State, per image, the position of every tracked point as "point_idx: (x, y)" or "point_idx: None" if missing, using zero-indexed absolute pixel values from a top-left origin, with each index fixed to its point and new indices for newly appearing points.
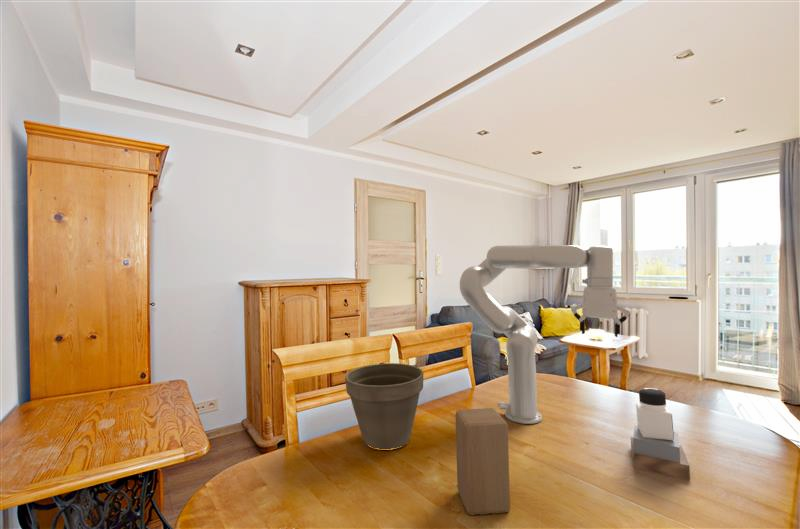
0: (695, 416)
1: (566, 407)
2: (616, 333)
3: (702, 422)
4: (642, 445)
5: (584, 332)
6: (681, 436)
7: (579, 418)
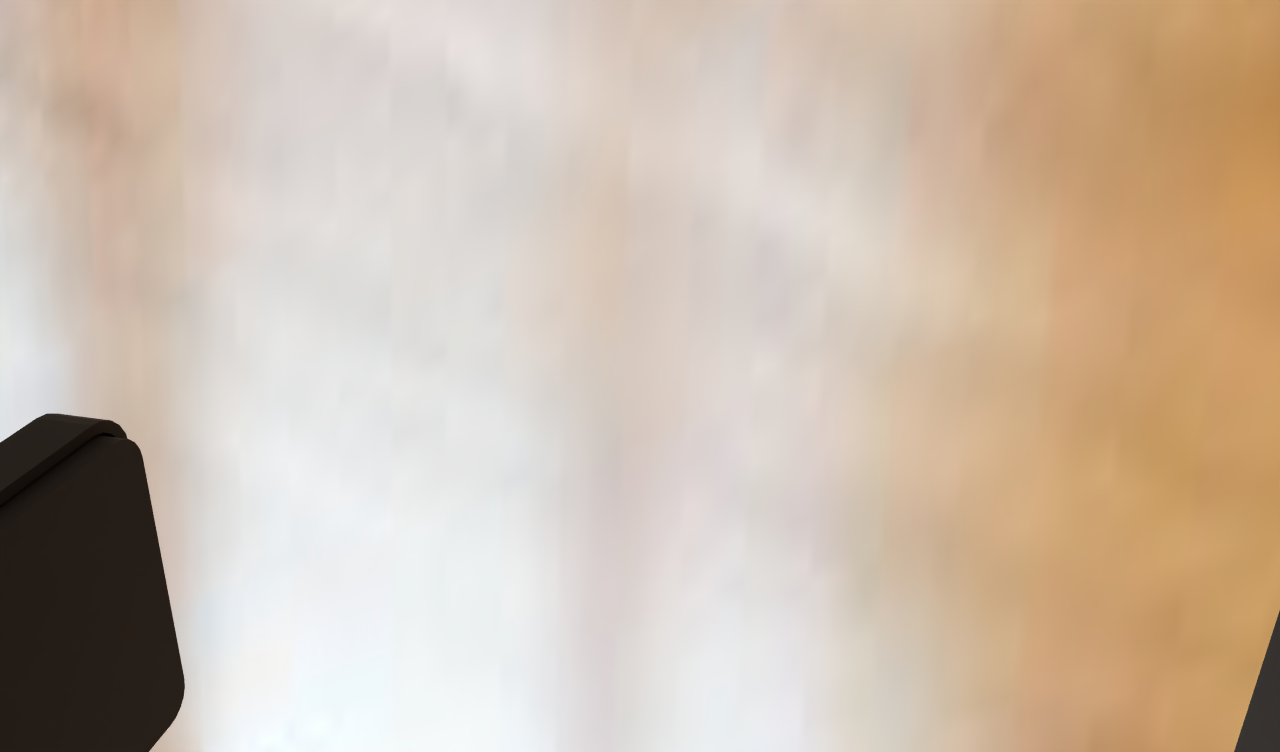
0: None
1: (1125, 489)
2: (3, 469)
3: None
4: None
5: (1269, 698)
6: (220, 162)
7: (1017, 242)
